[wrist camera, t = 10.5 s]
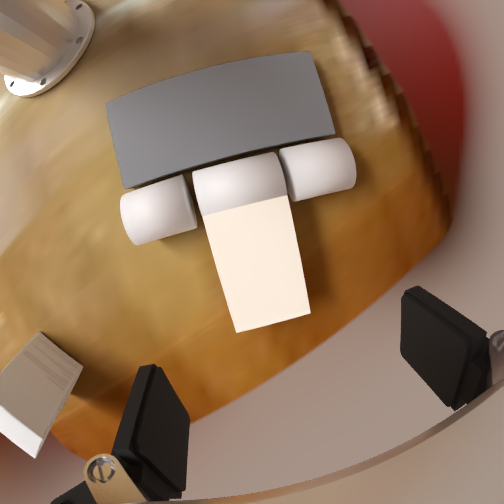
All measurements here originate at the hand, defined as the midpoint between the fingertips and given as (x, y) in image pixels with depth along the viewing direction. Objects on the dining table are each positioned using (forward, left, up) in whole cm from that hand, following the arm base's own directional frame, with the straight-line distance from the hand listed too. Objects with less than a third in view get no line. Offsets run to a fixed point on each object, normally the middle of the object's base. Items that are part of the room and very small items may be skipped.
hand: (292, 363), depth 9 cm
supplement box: (+8, -28, -17) cm, 33 cm away
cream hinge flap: (-1, 0, -17) cm, 17 cm away
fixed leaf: (-10, 0, -16) cm, 19 cm away
